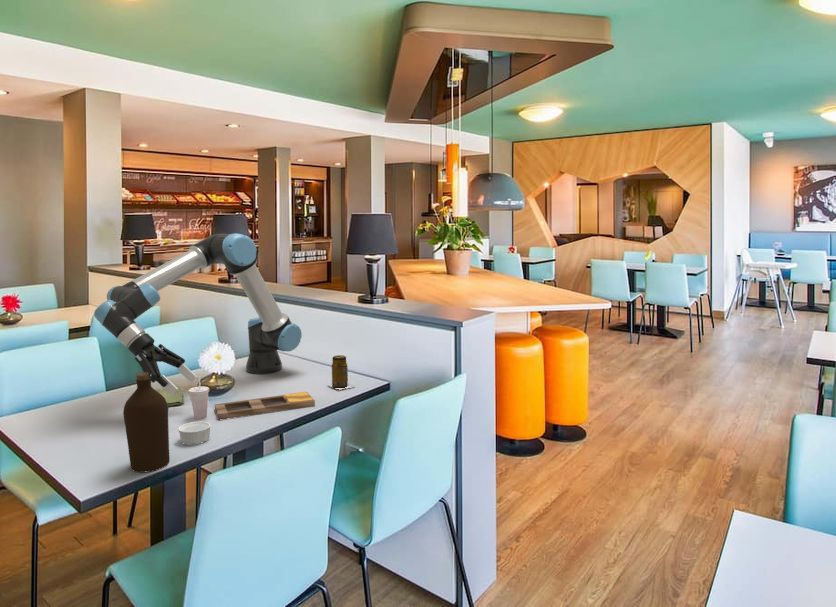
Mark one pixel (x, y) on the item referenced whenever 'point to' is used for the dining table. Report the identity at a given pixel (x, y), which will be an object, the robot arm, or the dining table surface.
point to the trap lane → (264, 405)
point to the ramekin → (194, 432)
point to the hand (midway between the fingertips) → (185, 385)
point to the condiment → (339, 372)
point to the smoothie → (199, 400)
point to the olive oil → (147, 427)
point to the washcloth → (172, 397)
